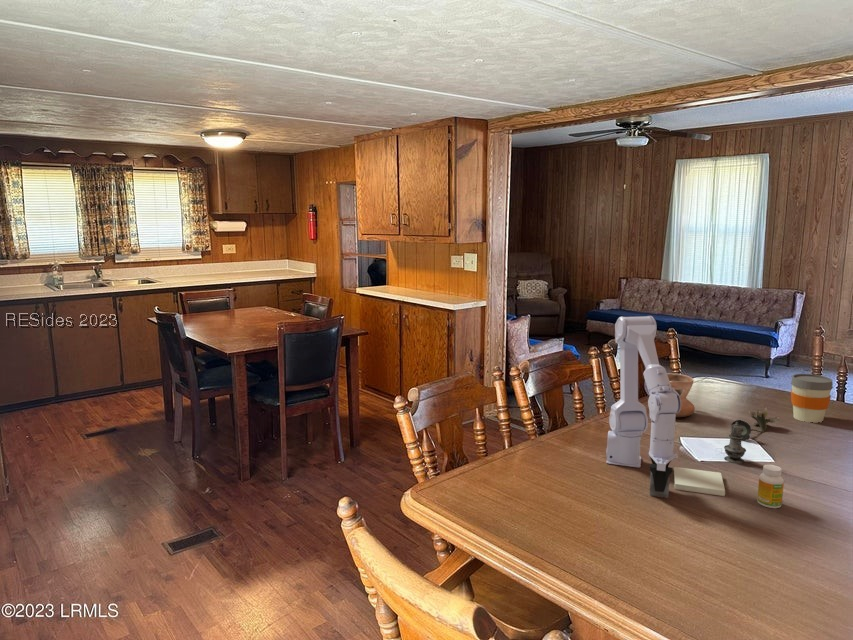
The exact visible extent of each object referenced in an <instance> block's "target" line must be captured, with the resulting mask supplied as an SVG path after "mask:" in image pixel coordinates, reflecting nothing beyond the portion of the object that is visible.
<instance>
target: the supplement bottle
mask: <svg viewBox="0 0 853 640" xmlns="http://www.w3.org/2000/svg"><path fill="white" fill-rule="evenodd" d="M782 471H783V470H782V468H781V467H780V466H777V465H775V464H764V465H763V467H762V472H761V473H760V474H759V476H758V477H759V478H758V486H757V488H758V489H757V500H756V501H757V503H758V504H759V505H761V506H762V507H766V508H769V509H778V508H781V507H782V504H783V494H784V486H785V484H784V483H785V480H784V477H783V476H781V475H782V473H783V472H782Z"/></svg>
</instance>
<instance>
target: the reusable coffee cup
mask: <svg viewBox="0 0 853 640" xmlns="http://www.w3.org/2000/svg"><path fill="white" fill-rule="evenodd" d="M790 384H791V390H790V396H791V397H790V400H791V404H792V411H793V418H794V419H795V420H798V421H801V422H804V421H805V422H804V423H810V422H813V423H812V424H818V422H820V423H823V422H822V421H824V418H825V414H826V410H827V409H828V408H829V405H830V402H831V396H832V395H831V391H832V390H833V379H832V378H830V377H827V376H824V375H819V374H812V373H795V374H793V375H792V376H791V380H790Z"/></svg>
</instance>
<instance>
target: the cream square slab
mask: <svg viewBox="0 0 853 640" xmlns="http://www.w3.org/2000/svg"><path fill="white" fill-rule="evenodd" d="M673 478H674V480H673V481H674V490H679V491H686V492H692V493H699V494H700V493H701V494H707V495H713V496H722V497H725V495H726V489H725V485H724V481H723V480H724V479H723V476H722V472H717V471H709V470H704V469H703V470H702V469H694V468H687V467H686V468H685V467H680V466H679V467H678V466H674V467H673Z"/></svg>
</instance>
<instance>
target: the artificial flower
mask: <svg viewBox="0 0 853 640" xmlns="http://www.w3.org/2000/svg"><path fill="white" fill-rule="evenodd" d="M748 413H749V415H750V416H751V418H752V419H754V420H755V422H754V423H753V425H759V428H760V429H761V430H759V429H758V430H757V429H753V428H751V425H750V423H748V422H747V421H744V420H741V419H736V420H735V421H733V422H732V423H731V426H732V425H733V424H736V422H738V424H739V425H741V426H742V437H743V438H742V440H741V441H746V440H749V439H750V438H751V436H750V434H752V433H751V432H753V431H754V432H756V433H764V432H765V431H766V430H767V427H768V426H767V424H768V423H771V424H772V423H775V422H777V421H779V420H780V417H777V416H775V417H769V418H767V416H768V413H769V412H768V409H767V407H764V408H763V409H762V411H761V410H757V411H756V412H755V411H754V410H749V411H748Z"/></svg>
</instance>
